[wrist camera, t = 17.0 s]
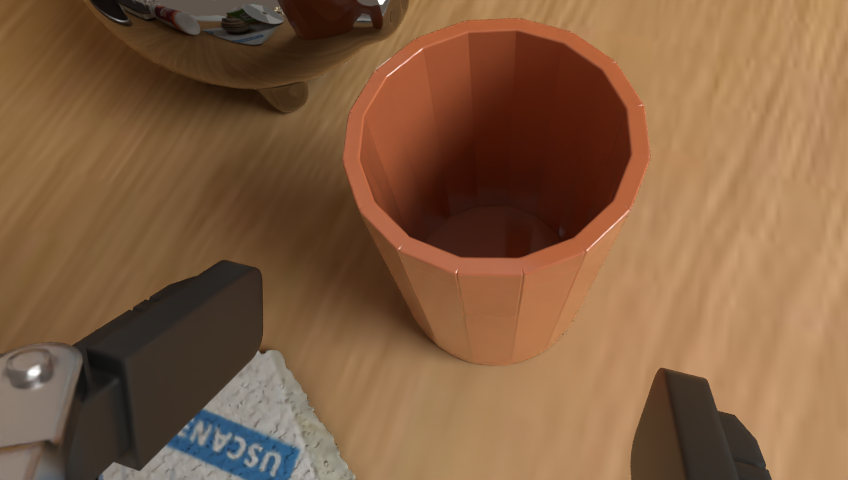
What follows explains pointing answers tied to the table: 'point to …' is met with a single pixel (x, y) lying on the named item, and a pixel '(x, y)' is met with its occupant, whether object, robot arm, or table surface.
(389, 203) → the cup
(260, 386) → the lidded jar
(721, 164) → the table surface
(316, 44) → the piggy bank
